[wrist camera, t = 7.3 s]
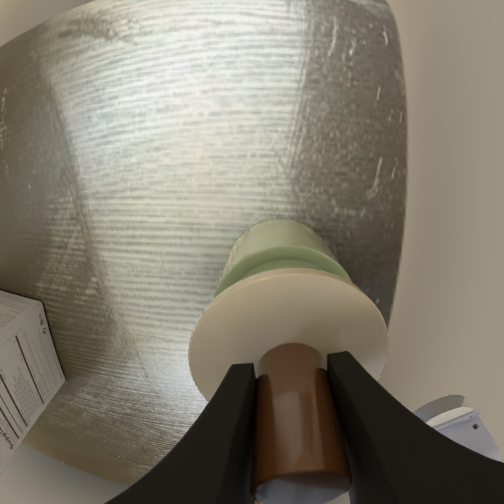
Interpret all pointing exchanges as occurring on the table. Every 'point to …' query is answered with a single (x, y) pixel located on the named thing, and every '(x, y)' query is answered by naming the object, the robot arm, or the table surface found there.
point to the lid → (290, 373)
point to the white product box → (24, 369)
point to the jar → (277, 252)
